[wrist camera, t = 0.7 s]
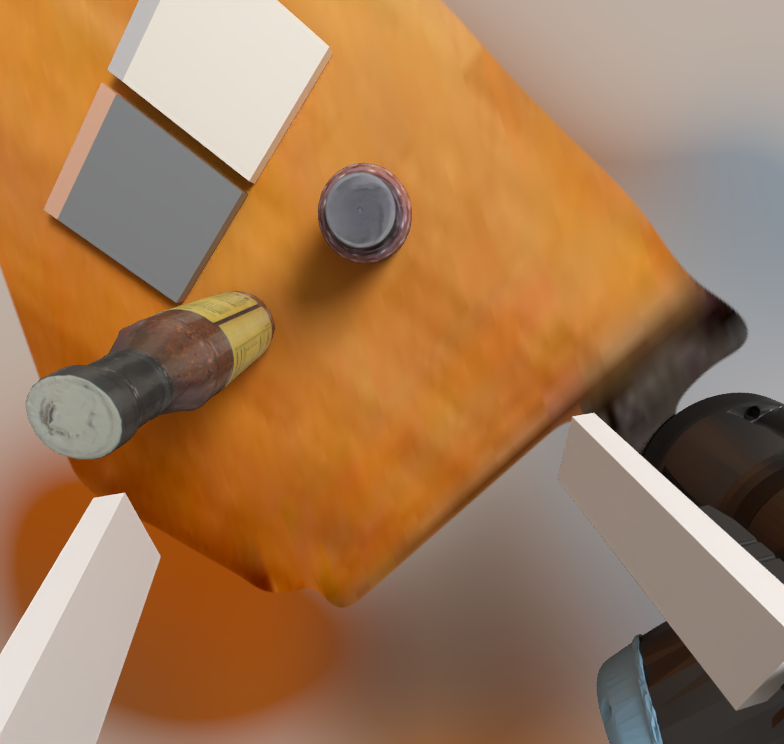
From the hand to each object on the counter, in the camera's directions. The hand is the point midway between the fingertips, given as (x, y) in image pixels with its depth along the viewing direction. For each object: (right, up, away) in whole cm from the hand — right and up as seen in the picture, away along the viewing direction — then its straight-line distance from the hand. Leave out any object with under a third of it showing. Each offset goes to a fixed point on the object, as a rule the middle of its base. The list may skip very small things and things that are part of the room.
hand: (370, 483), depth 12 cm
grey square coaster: (-19, +17, +20) cm, 33 cm away
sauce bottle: (-13, +8, +23) cm, 28 cm away
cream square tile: (-12, +26, +17) cm, 33 cm away
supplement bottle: (-1, +16, +21) cm, 26 cm away
